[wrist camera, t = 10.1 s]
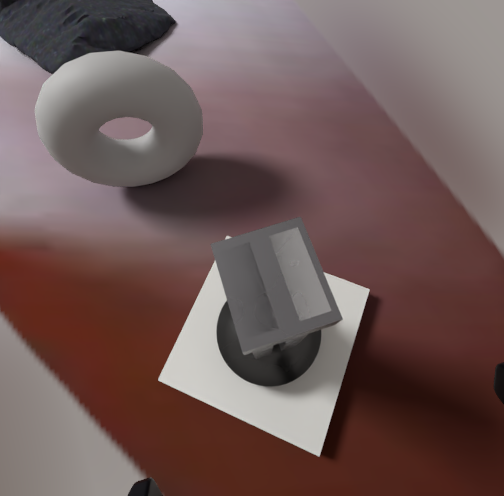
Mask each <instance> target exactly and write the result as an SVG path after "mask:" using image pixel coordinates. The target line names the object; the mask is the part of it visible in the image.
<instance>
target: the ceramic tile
mask: <svg viewBox="0 0 504 496" xmlns="http://www.w3.org/2000/svg"><path fill="white" fill-rule="evenodd" d="M229 238H232V237H229V236H227V237H226V239H229ZM226 239H225V240H226ZM324 275H325V277H326V279H327V282H328V284H329V287H330V289H331V291H332V294H333V296H334V299H335V301H336V304H337V306H338V308H339V311H340V313H341V316H342V318H343V320H341V321H340V322H339V323H337V324H336V325H333V326H330V327H327V328H324V329H321V344H320V348H319V351H318V354H317V356H316V358H315V360H314V362H313V363H312V365H311V366H310V368H309V369H308V370H307V371H306V372H305V373H304V374H303V375H301V376H300V377H299V378H297V379H296V380H294V381H292V382H290V383H287V384H284V385H280V386H273V387H269V386H259V385H255V384H252V383H250V382H247V381H245V380H243V379H242V378H240V377H239V376H238V375H236V374H235V373H234V372H233V371H232V370H231V369H230V368H229V367H228V365H227V364H226V362H225V361H224V359H223V357H222V355H221V353H220V350H219V347H218V343H217V334H216V330H217V322H218V317H219V314H220V312H221V309H222V307H223V305H224V304H225V302H226V301H227V298H226V295H225V291H224V288H223V285H222V281H221V278H220V274H219V271H218V268H217V264H216V261H215V262H214V264H213V266H212V268H211V270H210V272H209V274H208V276H207V279H206V281H205V283H204V285H203V287H202V289H201V291H200V293H199V295H198V297H197V299H196V301H195V304H194V306H193V308H192V310H191V312H190V314H189V316H188V318H187V320H186V322H185V324H184V327H183V329H182V331H181V333H180V335H179V337H178V339H177V341H176V343H175V345H174V347H173V350H172V352H171V354H170V356H169V358H168V360H167V362H166V364H165V366H164V368H163V370H162V373H161V375H160V377H159V379H158V381H161V382H163V383H165V384H167V385H169V386H171V387H173V388H175V389H177V390H180V391H182V392H184V393H186V394H188V395H190V396H192V397H194V398H196V399H199V400H201V401H203V402H205V403H207V404H209V405H211V406H213V407H215V408H218V409H220V410H222V411H224V412H226V413H228V414H230V415H232V416H235V417H237V418H239V419H241V420H243V421H245V422H247V423H249V424H251V425H254V426H256V427H258V428H260V429H262V430H264V431H266V432H268V433H270V434H273V435H275V436H277V437H279V438H281V439H283V440H285V441H287V442H289V443H292V444H294V445H296V446H298V447H300V448H302V449H304V450H306V451H308V452H311V453H313V454H315V455H317V456H319V457H320V453H321V450H322V447H323V443H324V440H325V437H326V433H327V430H328V427H329V423H330V420H331V417H332V413H333V410H334V407H335V403H336V400H337V397H338V393H339V390H340V387H341V383H342V380H343V377H344V374H345V370H346V367H347V364H348V360H349V357H350V354H351V350H352V347H353V344H354V340H355V337H356V334H357V330H358V327H359V324H360V320H361V317H362V314H363V310H364V307H365V304H366V300H367V297H368V294H369V290H370V289H367V288H365V287H362V286H359V285H357V284H354V283H351V282H349V281H346V280H343V279H341V278H338V277H335V276H333V275H330V274H327V273H325V272H324Z"/></svg>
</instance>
